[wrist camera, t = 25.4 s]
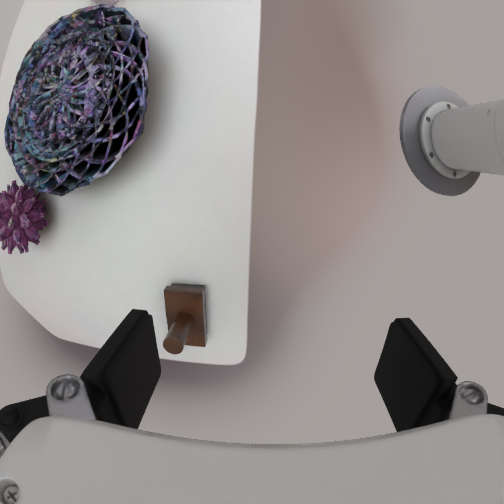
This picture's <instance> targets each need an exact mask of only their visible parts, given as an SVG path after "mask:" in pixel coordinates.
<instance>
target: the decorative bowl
mask: <svg viewBox="0 0 504 504" xmlns="http://www.w3.org/2000/svg"><path fill="white" fill-rule="evenodd" d="M148 56H149V47H148V37H147V35H146V34H145V33H144V32H143V31H142V30H141V28H140V25H139V22H138V20H136V19H134V17H133V16H132V15H131V14H130V13H129V12H128V11H127V10H126V9H125V8H116V7H114V6H110V5H106V4H100V5H96V6H91V7H86V8H81V9H78V10H76V11H75V12H73V13H72V14H69V15H66V16H62V17H61V18H59V19H58V20H57V21H55V22H54V23H53V24H51V25H50V26H48V27H47V29H46V30H45V31H44V32H43V34H42V35H41V36H40V37H39V39H37V40H36V41H35V42H34V44H33V45H32V46H31V48H30V49H29V51H28V52H27V54H26V55H25V57H24V59H23V62H22V64H21V67H20V70H19V72H18V73H17V77H16V81H15V85H14V87H13V91H12V94H11V98H10V102H9V114H8V116H7V120H6V125H5V131H4V132H5V146H6V149H7V151H8V153H9V155H10V157H11V158H12V161H13V164H14V166H15V169H16V172H17V173H18V175H19V177H20V179H21V180H22V182H23V183H24V184H26V185H28V186H31V187H34V188H35V189H36V190H37V191H38V192H47V193H49V194H54V195H59V196H63V195H65V194H67V193H69V192H71V191H73V190H74V189H75V188H78V187H82V186H86V185H89V184H90V183H91V182H92V181H93V179H96V178H98V177H101V176H104V175H106V174H107V173H108V172H109V171H110V169H111V168H112V167H113V166H114V165H115V164H116V162H117V161H118V160H119V159H120V158H121V157H122V156H123V155H124V154H125V153H126V152H127V151H128V150H129V149H130V146H131V143H132V142H134V141H135V140H136V139H137V138H138V137H139V136H140V135H141V134H142V133H143V129H144V114H145V112H146V110H147V104H146V97H147V95H148V87H147V81H146V80H147V77H148V75H149V68H148V60H147V58H148Z"/></svg>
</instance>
